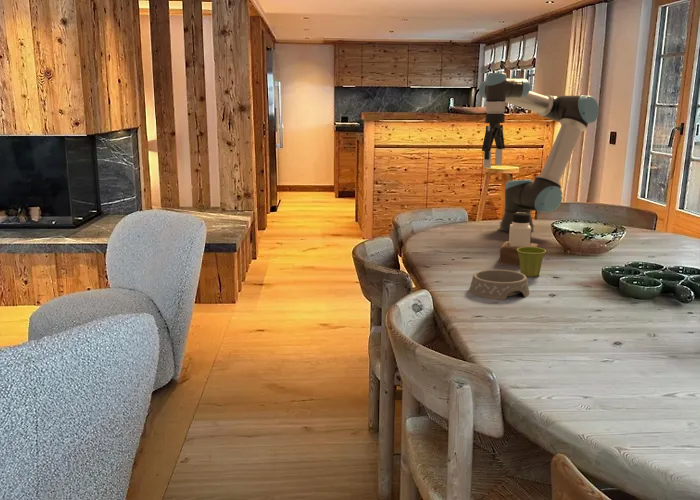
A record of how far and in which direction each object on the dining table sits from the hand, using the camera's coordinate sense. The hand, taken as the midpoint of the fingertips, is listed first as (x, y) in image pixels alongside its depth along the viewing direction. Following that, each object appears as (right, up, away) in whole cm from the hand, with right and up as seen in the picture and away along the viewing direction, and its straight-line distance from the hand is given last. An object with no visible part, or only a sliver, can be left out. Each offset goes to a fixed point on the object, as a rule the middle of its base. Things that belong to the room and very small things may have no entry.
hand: (492, 166), depth 253 cm
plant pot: (+3, -43, -42) cm, 60 cm away
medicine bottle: (+4, -32, -25) cm, 41 cm away
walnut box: (+4, -38, -24) cm, 46 cm away
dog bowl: (-12, -47, -60) cm, 78 cm away
